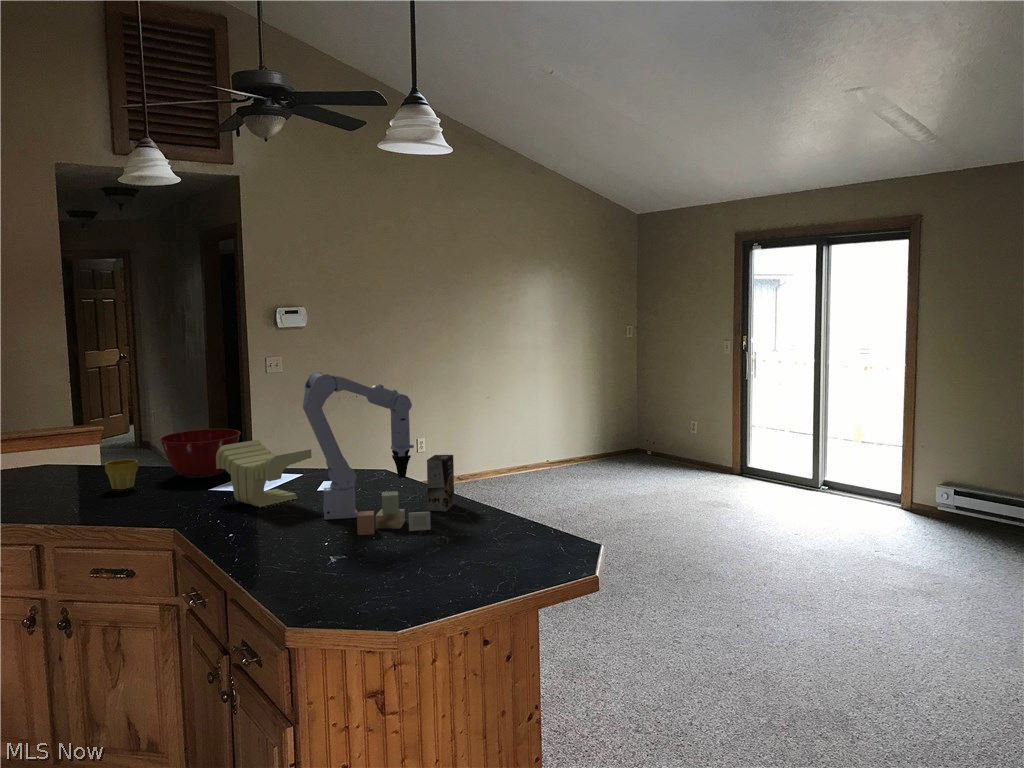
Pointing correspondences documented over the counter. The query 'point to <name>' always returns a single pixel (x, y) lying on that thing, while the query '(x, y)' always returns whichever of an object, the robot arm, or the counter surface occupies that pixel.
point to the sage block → (390, 502)
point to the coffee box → (440, 482)
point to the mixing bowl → (197, 450)
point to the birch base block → (390, 519)
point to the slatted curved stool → (256, 471)
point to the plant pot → (121, 473)
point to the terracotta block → (365, 522)
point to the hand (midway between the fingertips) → (401, 474)
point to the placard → (419, 521)
